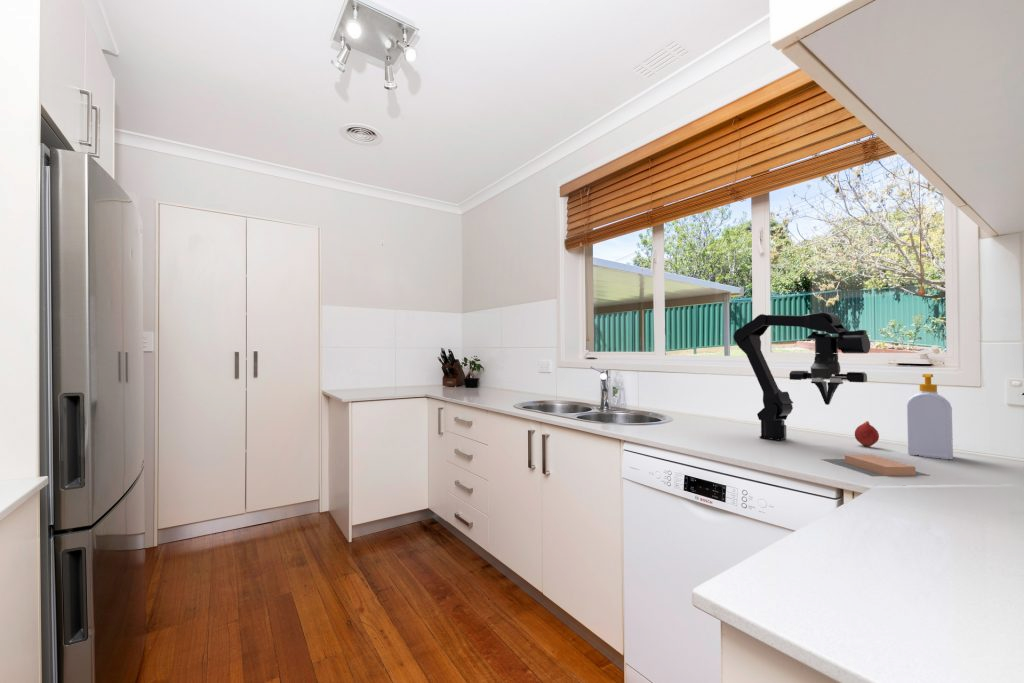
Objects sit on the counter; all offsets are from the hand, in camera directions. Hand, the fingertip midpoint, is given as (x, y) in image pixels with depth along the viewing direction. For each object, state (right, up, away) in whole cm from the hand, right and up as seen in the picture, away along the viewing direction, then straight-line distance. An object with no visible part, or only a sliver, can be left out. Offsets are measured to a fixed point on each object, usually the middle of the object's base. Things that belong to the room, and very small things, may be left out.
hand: (827, 404), depth 134 cm
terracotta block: (-7, -11, -21) cm, 25 cm away
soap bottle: (+21, -13, -11) cm, 27 cm away
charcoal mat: (-7, -12, -25) cm, 29 cm away
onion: (+12, -13, 0) cm, 18 cm away
